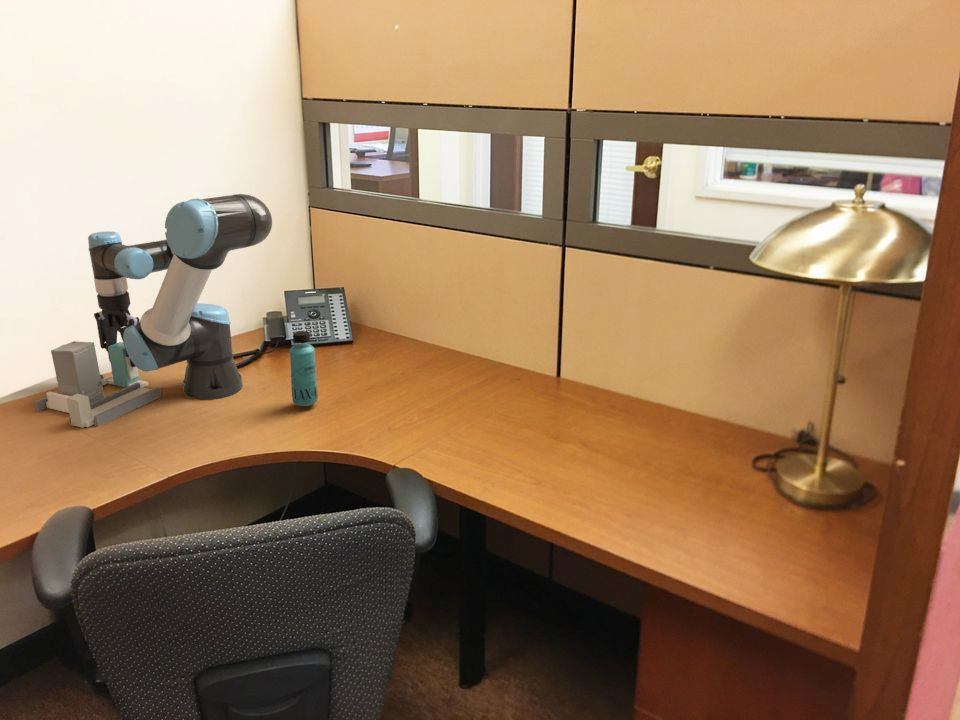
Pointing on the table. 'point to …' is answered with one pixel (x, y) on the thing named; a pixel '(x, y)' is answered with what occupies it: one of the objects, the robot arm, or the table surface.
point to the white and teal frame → (119, 379)
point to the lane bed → (116, 410)
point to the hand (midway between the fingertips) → (125, 375)
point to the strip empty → (85, 415)
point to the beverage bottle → (303, 370)
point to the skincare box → (78, 370)
